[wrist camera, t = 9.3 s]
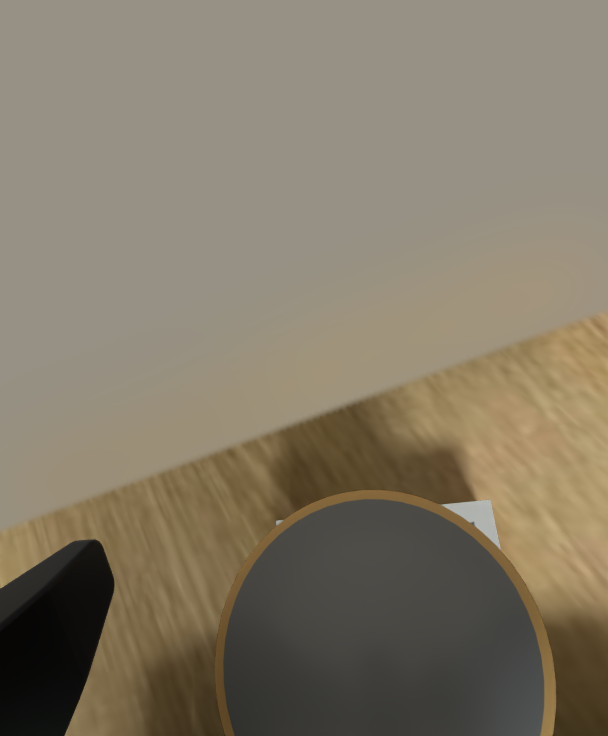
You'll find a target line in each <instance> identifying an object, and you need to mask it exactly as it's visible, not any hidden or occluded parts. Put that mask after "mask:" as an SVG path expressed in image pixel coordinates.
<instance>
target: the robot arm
mask: <svg viewBox="0 0 608 736" xmlns="http://www.w3.org/2000/svg"><path fill="white" fill-rule="evenodd" d="M113 593H114V577H113V574H112V571H111V568H110V565H109V563H108V560H107V557H106V554H105V551H104V548H103V546H102V544H101V543H100V542H99V541H98V540H95V539H93V540H80V541H74V542H72V543H70V544H68V545H67V546H65V547H64V548H62V549H61V550H59V551H58V552H56V553H55V554H53V555H52V556H50V557H48V558H47V559H45V560H44V561H42V562H41V563H39V564H38V565H36V566H35V567H33V568H32V569H30V570H28V571H27V572H25V573H24V574H22V575H21V576H19V577H18V578H16V579H15V580H13V581H12V582H10V583H8V584H7V585H5V586H4V587H2V588H1V589H0V736H65V733H66V731H67V728H68V726H69V723H70V721H71V719H72V716H73V714H74V711H75V709H76V706H77V704H78V701H79V699H80V696H81V694H82V691H83V689H84V686H85V683H86V681H87V678H88V675H89V672H90V669H91V666H92V662H93V659H94V656H95V652H96V649H97V646H98V643H99V639H100V636H101V633H102V629H103V626H104V623H105V619H106V616H107V613H108V610H109V606H110V603H111V600H112V596H113Z"/></svg>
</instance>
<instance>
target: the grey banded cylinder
mask: <svg viewBox="0 0 608 736" xmlns="http://www.w3.org/2000/svg"><path fill="white" fill-rule="evenodd" d="M215 687H216V694H217V702H218V709H219V714H220V718H221V722H222V726H223V730H224V734H225V736H553V730H554V722H555V713H556V679H555V671H554V664H553V656H552V652H551V648H550V644H549V640H548V636H547V632H546V629H545V626H544V623H543V621H542V618H541V615H540V613H539V610H538V608H537V605H536V603H535V601H534V599H533V597H532V595H531V594H530V592H529V590H528V588H527V586H526V584H525V582H524V581H523V579H522V578H521V576H520V575H519V573H518V572H517V570H516V569H515V567H514V566H513V564H512V563H511V562H510V561H509V560H508V558H507V557H506V556H505V555H504V554H503V553H502V551H501V550H500V549H499V548H498V547H497V546H496V545H495V544H494V543H493V542H492V541H491V540H490V539H489V538H488V537H487V536H486V535H485V534H484V533H483V532H481V531H480V530H479V529H478V528H477V527H475V526H474V525H472V524H471V523H470V522H468V521H467V520H466V519H464V518H463V517H461V516H460V515H458V514H456V513H454V512H453V511H451V510H449V509H447V508H445V507H444V506H442V505H439V504H437V503H434V502H432V501H429V500H427V499H424V498H421V497H418V496H414V495H410V494H406V493H402V492H394V491H387V490H360V491H352V492H344V493H341V494H337V495H333V496H329V497H326V498H323V499H321V500H318V501H316V502H314V503H311V504H309V505H307V506H305V507H303V508H302V509H300V510H298V511H296V512H295V513H293V514H291V515H290V516H289V517H287V518H286V519H285V520H283V521H282V522H281V523H279V524H278V525H277V526H275V527H274V528H273V529H272V530H271V531H270V532H269V533H268V534H267V535H266V536H265V537H264V538H263V539H262V540H261V541H260V543H259V544H258V545H257V546H256V548H255V549H254V550H253V551H252V553H251V554H250V555H249V557H248V558H247V560H246V561H245V563H244V565H243V566H242V568H241V570H240V571H239V573H238V574H237V577H236V579H235V581H234V583H233V585H232V588H231V590H230V592H229V594H228V597H227V600H226V603H225V606H224V609H223V612H222V615H221V620H220V625H219V630H218V635H217V643H216V654H215Z"/></svg>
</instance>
